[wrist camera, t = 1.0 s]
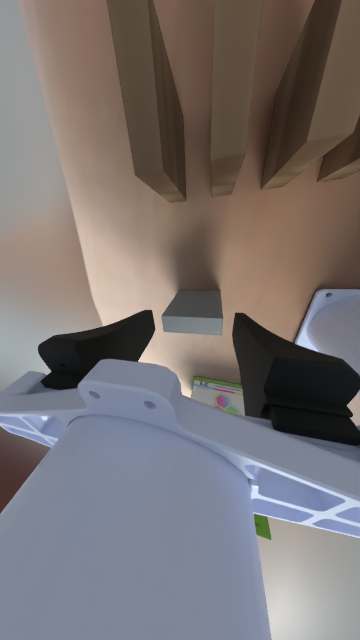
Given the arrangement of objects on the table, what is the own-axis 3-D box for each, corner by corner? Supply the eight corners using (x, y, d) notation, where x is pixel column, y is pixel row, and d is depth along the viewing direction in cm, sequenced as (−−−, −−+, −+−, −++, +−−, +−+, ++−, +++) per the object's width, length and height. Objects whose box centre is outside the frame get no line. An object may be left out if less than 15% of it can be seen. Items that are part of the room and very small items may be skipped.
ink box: (255, 386, 23) (297, 538, 12) (247, 404, 26) (274, 542, 14) (193, 375, 25) (175, 496, 13) (192, 392, 28) (175, 506, 16)
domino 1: (183, 116, 11) (144, -31, 5) (186, 200, 13) (162, 169, 7) (163, 122, 11) (105, -10, 5) (169, 202, 14) (135, 175, 8)
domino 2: (179, 290, 18) (161, 316, 12) (220, 290, 17) (223, 318, 11) (180, 301, 19) (163, 331, 13) (219, 302, 17) (221, 335, 12)
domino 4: (304, 83, 9) (473, -208, 3) (282, 186, 11) (353, 132, 6) (276, 91, 9) (381, -159, 3) (260, 189, 12) (306, 141, 6)
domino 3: (238, 101, 10) (274, -101, 4) (230, 194, 12) (245, 153, 6) (215, 108, 10) (216, -70, 4) (212, 196, 13) (210, 160, 7)
